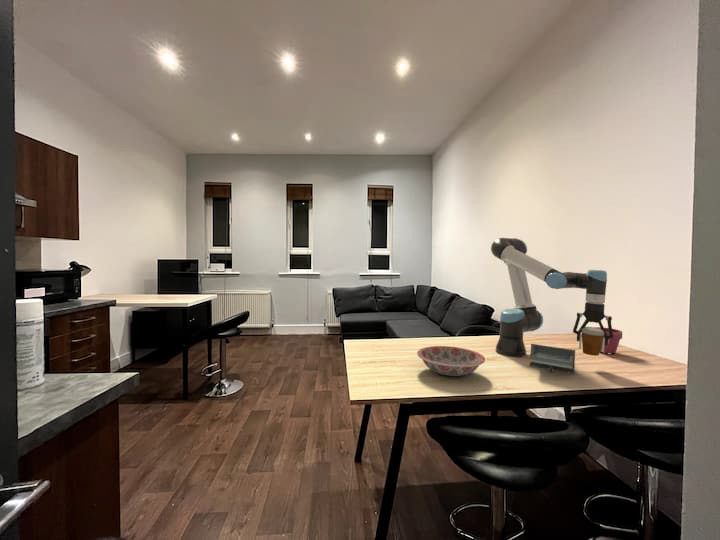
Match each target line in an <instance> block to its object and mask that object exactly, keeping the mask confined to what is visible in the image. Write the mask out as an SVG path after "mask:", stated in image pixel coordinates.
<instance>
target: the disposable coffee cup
mask: <svg viewBox="0 0 720 540" xmlns="http://www.w3.org/2000/svg"><path fill="white" fill-rule="evenodd" d="M581 331H582V332H581V334H582V341H581V347H582V353H583V354H585V355H589V356H597V357H598V356H599V355H600V353H599V352H600V348H601V344H602V340H603V336H604V331H602V330H601V329H599V328H594V326H593V327H592V326H585V328H582V330H581Z"/></svg>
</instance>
